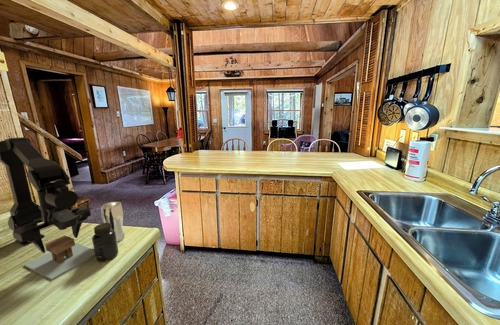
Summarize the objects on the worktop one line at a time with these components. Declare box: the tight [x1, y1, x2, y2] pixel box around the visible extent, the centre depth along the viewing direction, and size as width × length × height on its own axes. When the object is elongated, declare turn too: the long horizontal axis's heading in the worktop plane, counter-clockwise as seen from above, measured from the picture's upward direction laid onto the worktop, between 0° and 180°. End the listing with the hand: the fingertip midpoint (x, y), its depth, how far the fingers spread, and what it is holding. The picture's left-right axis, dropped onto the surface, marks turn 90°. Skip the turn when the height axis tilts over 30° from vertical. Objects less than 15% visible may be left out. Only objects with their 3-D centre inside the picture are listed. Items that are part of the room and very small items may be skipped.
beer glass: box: [100, 201, 125, 243], centre depth 83 cm, size 7×7×15 cm
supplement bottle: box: [91, 222, 119, 263], centre depth 73 cm, size 7×7×12 cm
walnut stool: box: [44, 235, 76, 263], centre depth 71 cm, size 6×6×6 cm
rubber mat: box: [23, 242, 95, 281], centre depth 72 cm, size 16×14×1 cm
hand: (60, 244), depth 71 cm, fingers open, 9 cm apart
